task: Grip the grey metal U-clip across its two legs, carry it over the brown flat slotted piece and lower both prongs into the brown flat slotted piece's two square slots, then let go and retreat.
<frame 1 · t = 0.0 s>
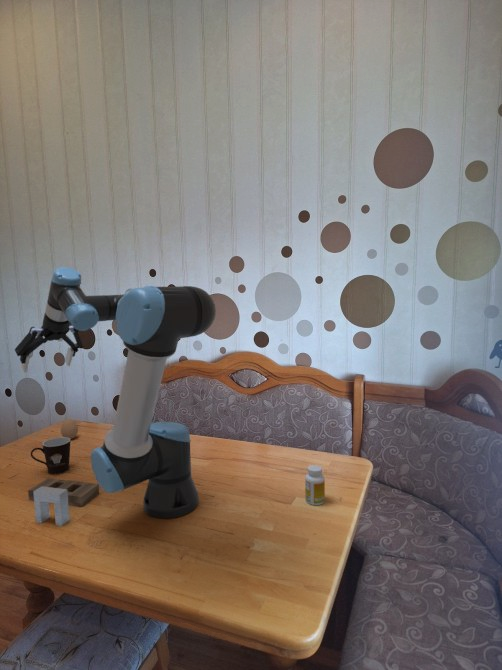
hand: (46, 366, 138), 36 cm above the table, tool tilted 35°, fingers open, 13 cm apart
egg: (70, 439, 173), on the table
supplement bottle: (315, 501, 119), on the table
clip: (52, 521, 111), on the table
brown flat slotted piece: (64, 496, 125), on the table
cookie: (123, 480, 135), on the table
coffee mug: (54, 470, 143), on the table
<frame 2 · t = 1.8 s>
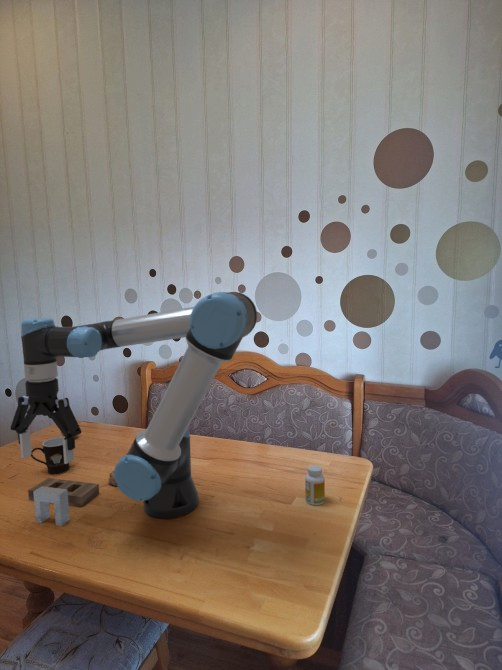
hand: (47, 459, 110), 17 cm above the table, tool pointing down, fingers open, 13 cm apart
nothing on the table moved.
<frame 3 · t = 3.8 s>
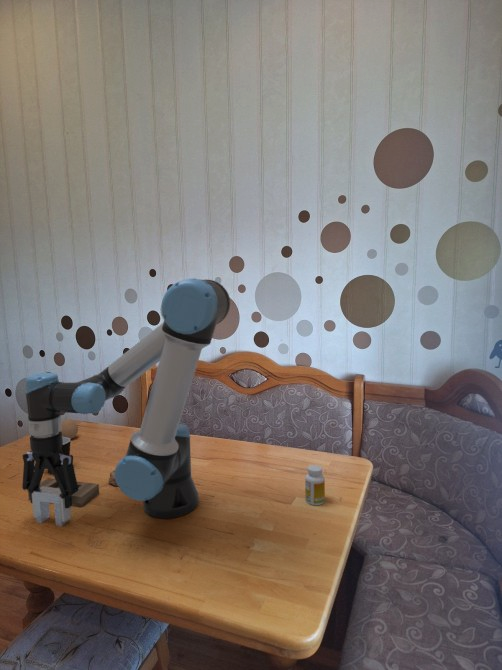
hand: (52, 516, 111), 1 cm above the table, tool pointing down, fingers closed on clip, 8 cm apart
clip: (52, 521, 111), on the table, touching gripper
everything else where it was.
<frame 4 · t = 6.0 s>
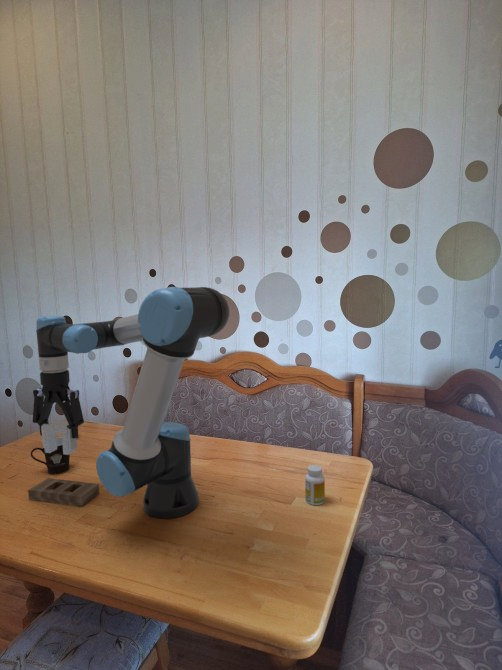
hand: (60, 447, 122), 15 cm above the table, tool pointing down, fingers closed on clip, 8 cm apart
clip: (60, 451, 123), point 14 cm above the table, touching gripper
everything else where it was.
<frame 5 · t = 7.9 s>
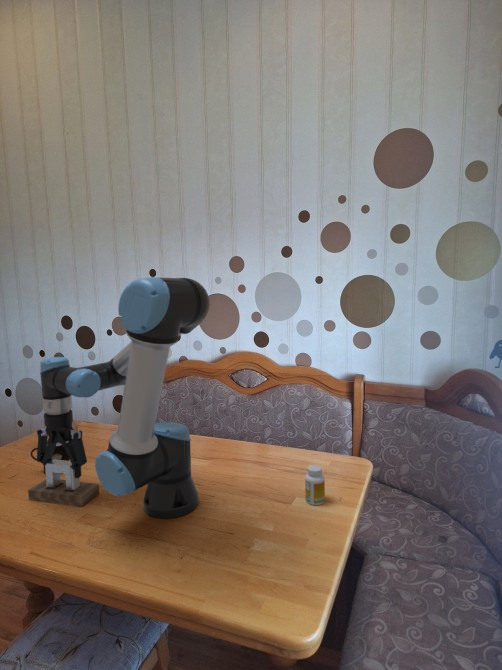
hand: (63, 486, 124), 3 cm above the table, tool pointing down, fingers closed on clip, 8 cm apart
clip: (63, 490, 124), point 2 cm above the table, touching gripper
everything else where it was.
when the fingers open (3 cm above the table, at t = 8.3 s): clip stays where it is, resting in brown flat slotted piece.
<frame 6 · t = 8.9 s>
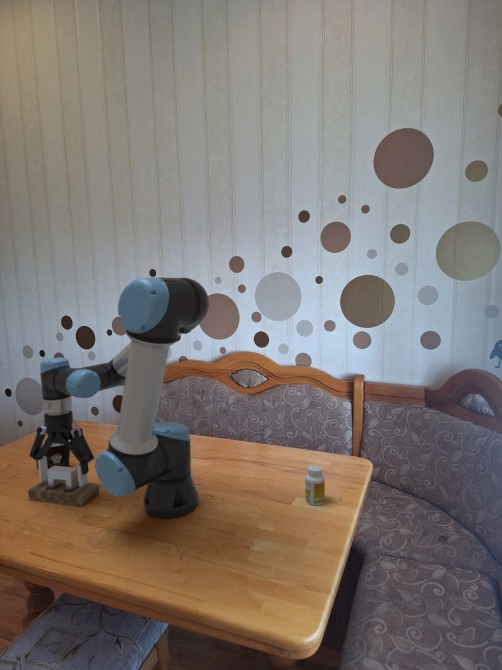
hand: (63, 482, 124), 5 cm above the table, tool pointing down, fingers open, 13 cm apart
clip: (64, 496, 125), resting in brown flat slotted piece
everything else where it was.
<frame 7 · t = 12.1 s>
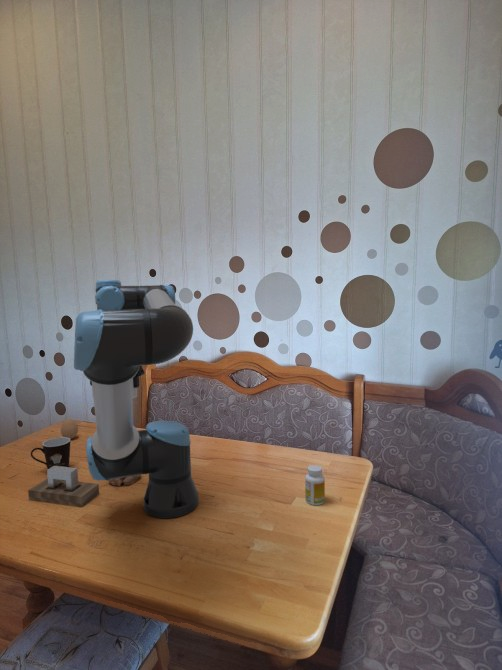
hand: (115, 396, 134), 27 cm above the table, tool pointing down, fingers open, 13 cm apart
nothing on the table moved.
at the end: clip 0.1 cm off-centre on the brown flat slotted piece, point 0.0 cm above the brown flat slotted piece's base; the gripper is holding nothing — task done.
